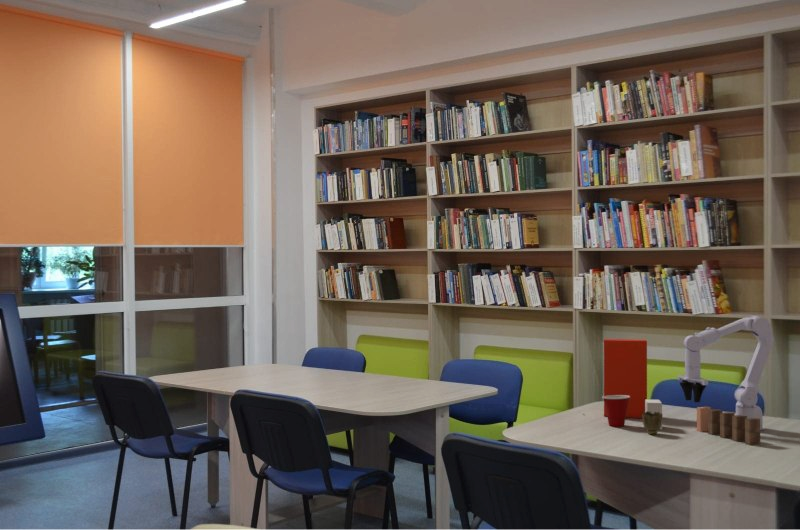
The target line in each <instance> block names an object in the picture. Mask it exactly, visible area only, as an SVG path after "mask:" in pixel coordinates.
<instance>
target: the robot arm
mask: <svg viewBox="0 0 800 530" xmlns="http://www.w3.org/2000/svg"><path fill="white" fill-rule="evenodd" d="M772 329H773V328H772V325H771V322H770V321H769V320H768V319H767V318H766V317H764V316H758V315H755V314H754V315H749V316H747V317H743V318H740V319H738V320H734V321H733V322H730V323H728V324H726V325H723V326H721V327H719V328H715V327H710V326H708V327H706V328H705V329H704V330H702V331H700V332H694V335H693V334H692V335H691V334H690V335H687V336H686V337H685V338H684V340H683V343H682V344H683V347H684V349H685V350H684V352H685V354H684V374H679V375H678V374H677V381H679V385H680V387H681V388H682V390H683V391H682V392H683V394H684V397H685V400H686V401H691V400H692V395H693V401H694V403H700V402H701V399H702V395H703V392H704V391H705V390H706V387H707V386H709V380H708V379H705V378H704V377H703V378H702V377H701V373H702V372H701V349H702V347H704V348H705V347H707V346H710V345H712V344H715V343H717V342H720V340H721V337H724V336H728V335H730V334H733V333H736V332H738V331H750V332H751V333H752V334H753V335H754V337H755V338H756V341H757V342H758V343H757V345H756V348H755V350H754V352H753V355H752V357H751V361H750V362H749V366H748V369H747V372H746V374H745V377H744V379H743V380H742V382H741V383H740V384H739V386H738V387H737V389H735V391H734V398H735V400H736V403H735V416H736V415H746V416H747V419H748V418H759V419H760V431H763V430H765V428H764V427H763V423H764V421H763V416H764V415H763V411H762V409H761V407H760V406H759V405H757V404H758V393H759V382H760V380H761V377H762V375H763V372H764V369H765V366H766V364H767V361H768V359H769V357H770V355H771V351H772V348H773V345H774V342H775V338H774V335H773V331H772ZM692 393H693V394H692Z"/></svg>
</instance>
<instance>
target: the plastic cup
mask: <svg viewBox="0 0 800 530" xmlns="http://www.w3.org/2000/svg"><path fill="white" fill-rule="evenodd" d="M601 398H602V400H603V404H604V403H605V407H606V413H607V417H606V418H607V422H608V425H609V427H613V428H622V427H624V426H625V424H626V423H625V422H626V419H627V417H626V412H627V406H628V401H629V398H630V396H627V395H608V396H604V395H602V397H601Z"/></svg>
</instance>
